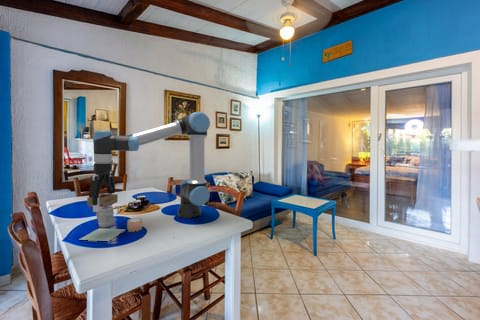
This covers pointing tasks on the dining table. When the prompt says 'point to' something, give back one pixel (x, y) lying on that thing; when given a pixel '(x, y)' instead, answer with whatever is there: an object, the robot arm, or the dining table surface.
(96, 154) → the robot arm
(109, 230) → the mat
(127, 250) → the dining table surface
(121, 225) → the dining table surface
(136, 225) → the bowl
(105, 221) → the mug
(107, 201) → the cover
